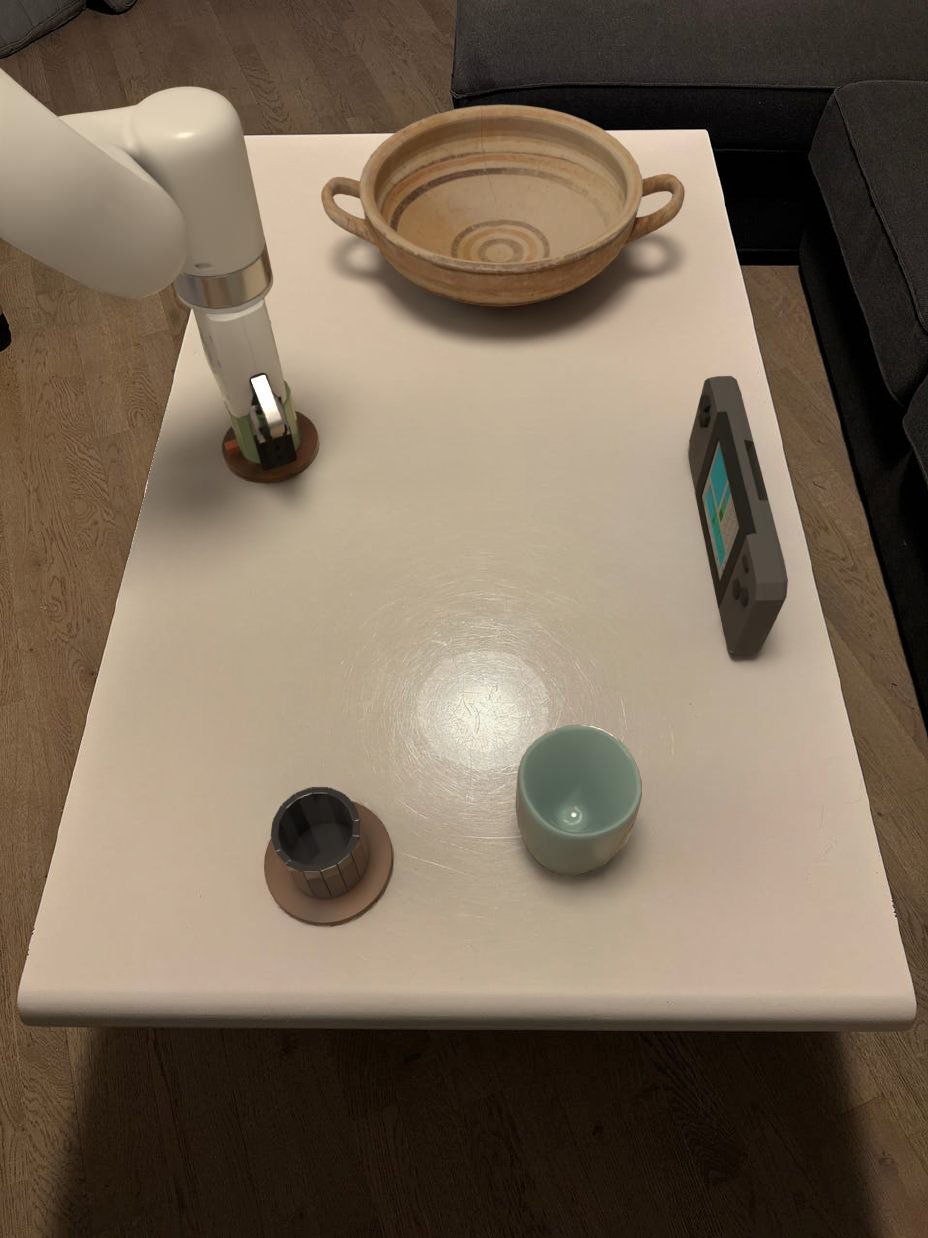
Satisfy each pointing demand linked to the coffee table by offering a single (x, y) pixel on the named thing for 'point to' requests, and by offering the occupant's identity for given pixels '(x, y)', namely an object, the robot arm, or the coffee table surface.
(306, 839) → the dark bucket
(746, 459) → the handheld gaming console
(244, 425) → the green grooved mug
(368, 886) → the dark base
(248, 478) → the brown dish
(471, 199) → the ceramic bowl
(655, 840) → the coffee table surface
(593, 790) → the cup
